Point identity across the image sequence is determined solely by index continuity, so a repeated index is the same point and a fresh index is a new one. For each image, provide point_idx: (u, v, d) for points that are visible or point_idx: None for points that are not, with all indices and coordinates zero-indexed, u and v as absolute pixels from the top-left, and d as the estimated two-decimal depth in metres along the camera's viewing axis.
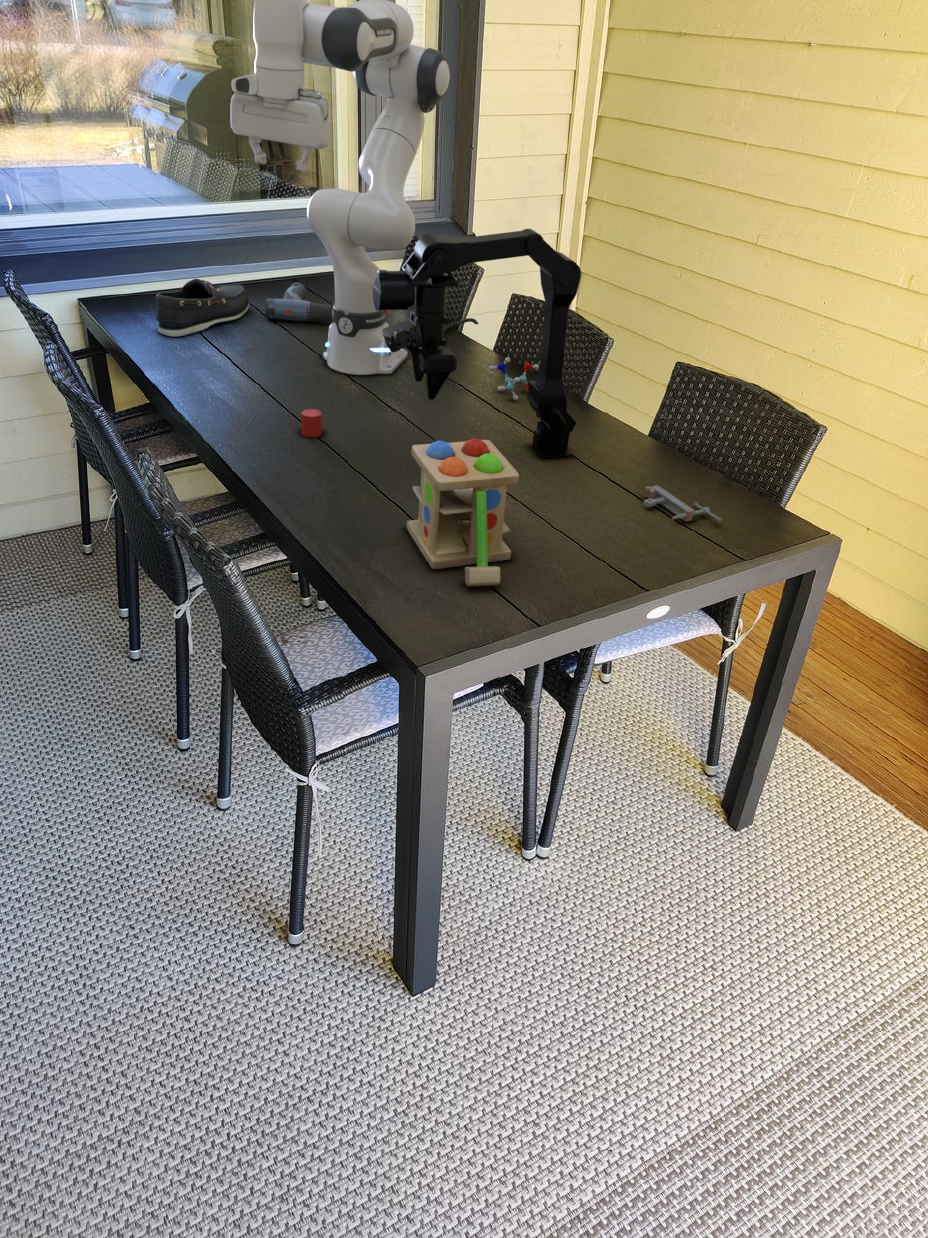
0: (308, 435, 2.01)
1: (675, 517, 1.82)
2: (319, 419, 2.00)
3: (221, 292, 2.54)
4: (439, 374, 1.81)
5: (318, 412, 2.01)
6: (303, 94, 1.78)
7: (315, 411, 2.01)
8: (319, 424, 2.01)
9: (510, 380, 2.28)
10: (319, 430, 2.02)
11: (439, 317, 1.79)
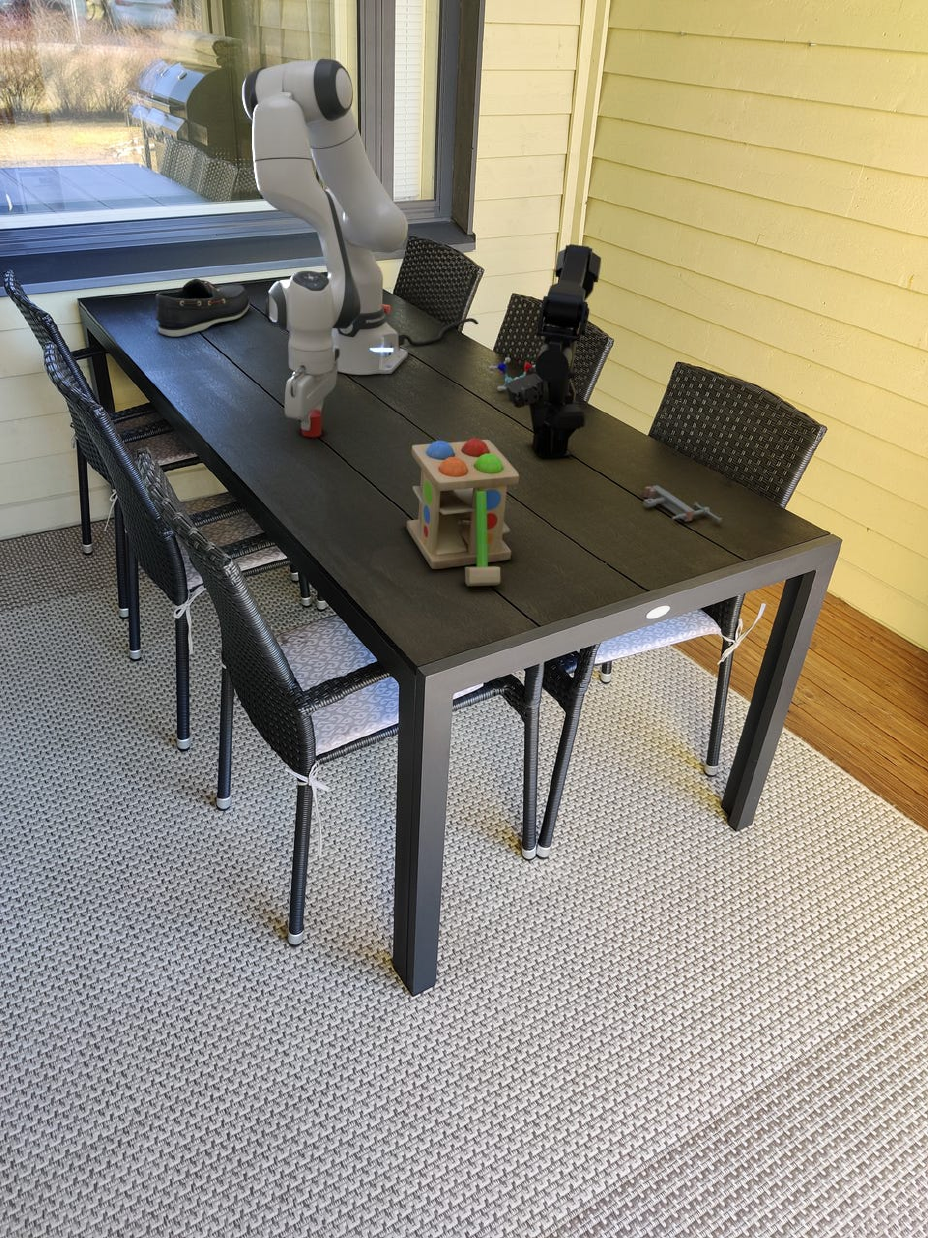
0: (308, 435, 2.01)
1: (675, 517, 1.82)
2: (319, 419, 2.00)
3: (221, 292, 2.54)
4: (565, 430, 1.77)
5: (318, 412, 2.01)
6: None
7: (315, 411, 2.01)
8: (319, 424, 2.01)
9: (510, 380, 2.28)
10: (319, 430, 2.02)
11: None
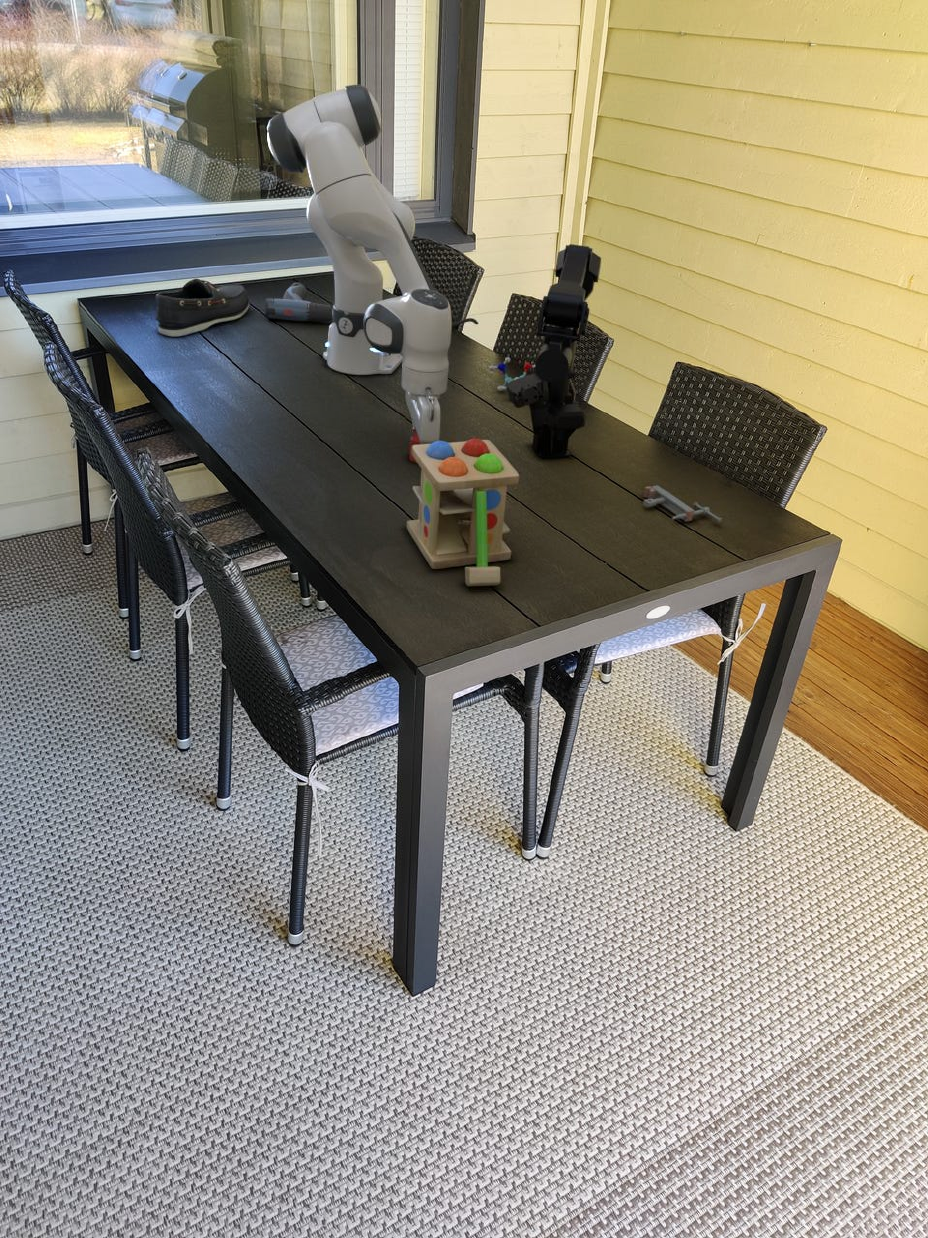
0: None
1: (675, 517, 1.82)
2: None
3: (221, 292, 2.54)
4: (565, 430, 1.77)
5: None
6: (426, 393, 1.83)
7: None
8: None
9: (510, 380, 2.28)
10: None
11: None
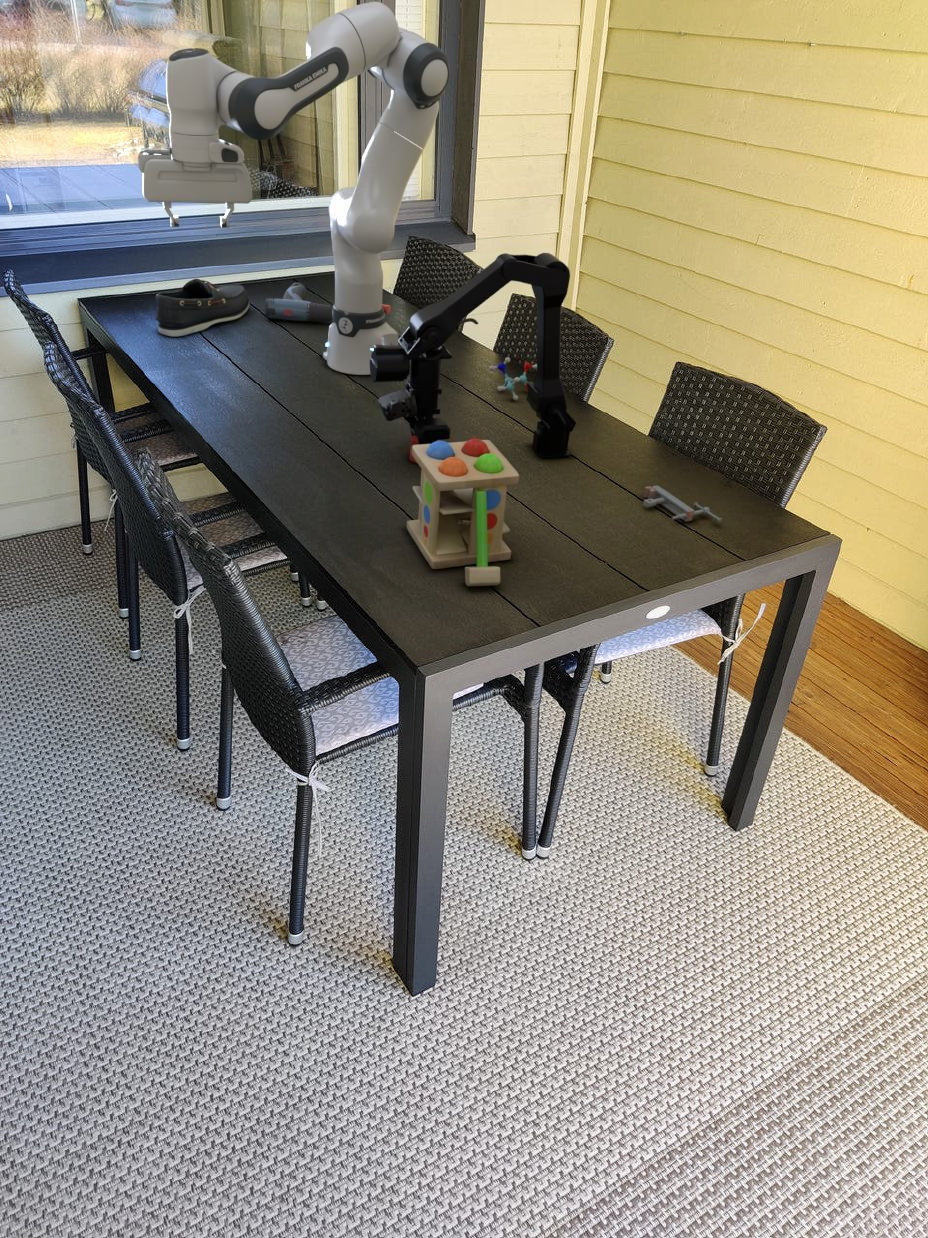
0: None
1: (675, 517, 1.82)
2: None
3: (221, 292, 2.54)
4: None
5: None
6: None
7: None
8: None
9: (510, 380, 2.28)
10: None
11: (433, 388, 1.86)
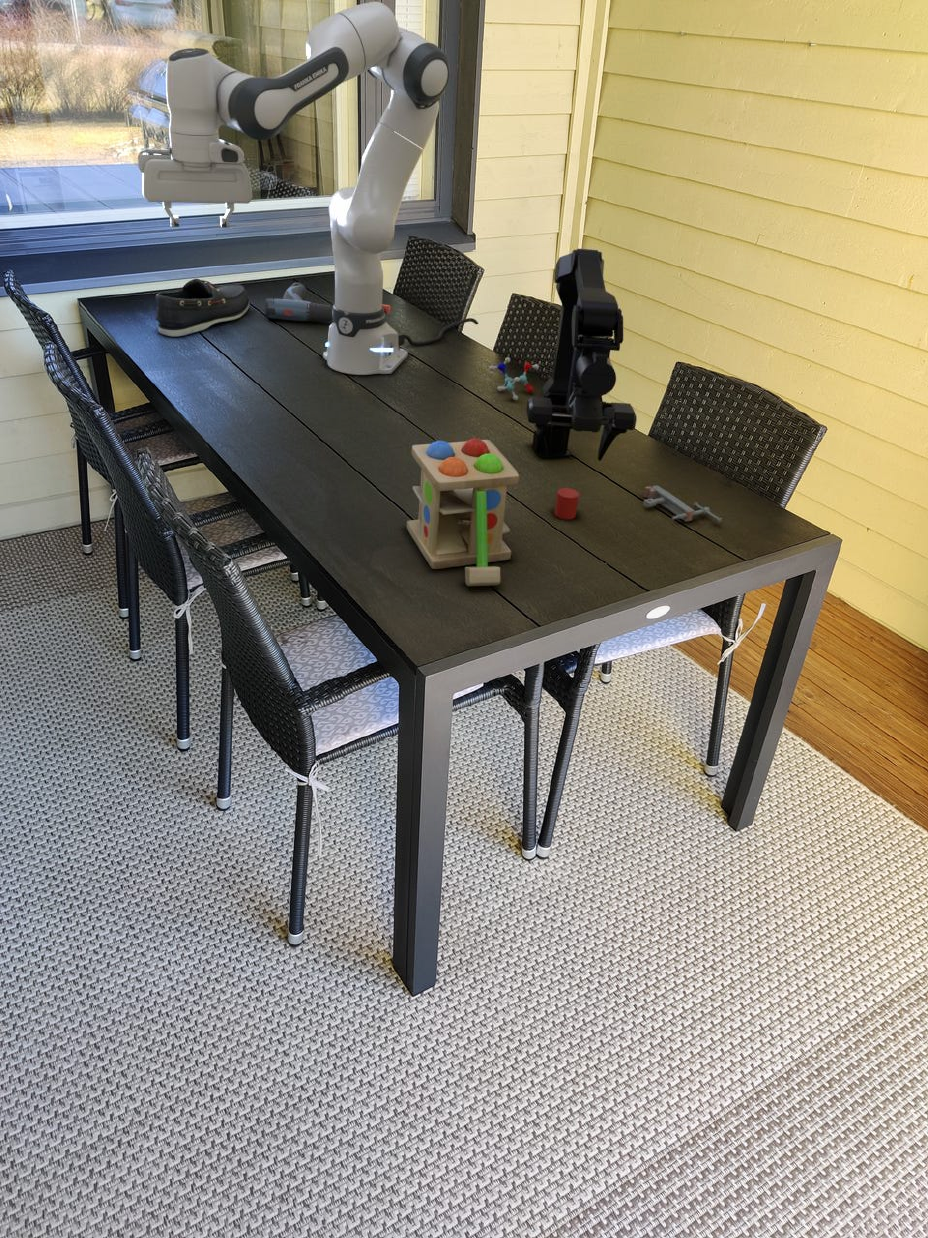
0: (575, 513, 1.82)
1: (675, 517, 1.82)
2: None
3: (221, 292, 2.54)
4: None
5: (564, 489, 1.81)
6: None
7: (563, 491, 1.80)
8: None
9: (510, 380, 2.28)
10: None
11: None
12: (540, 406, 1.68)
